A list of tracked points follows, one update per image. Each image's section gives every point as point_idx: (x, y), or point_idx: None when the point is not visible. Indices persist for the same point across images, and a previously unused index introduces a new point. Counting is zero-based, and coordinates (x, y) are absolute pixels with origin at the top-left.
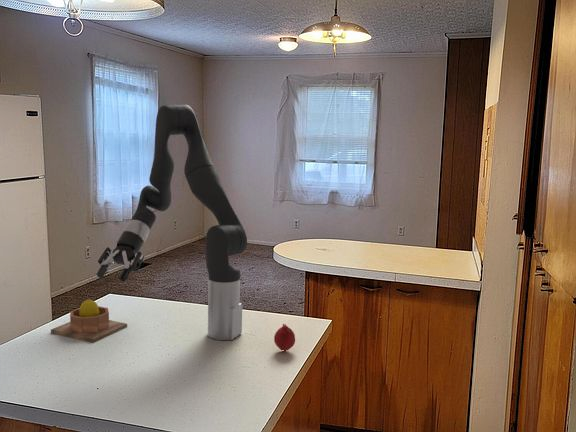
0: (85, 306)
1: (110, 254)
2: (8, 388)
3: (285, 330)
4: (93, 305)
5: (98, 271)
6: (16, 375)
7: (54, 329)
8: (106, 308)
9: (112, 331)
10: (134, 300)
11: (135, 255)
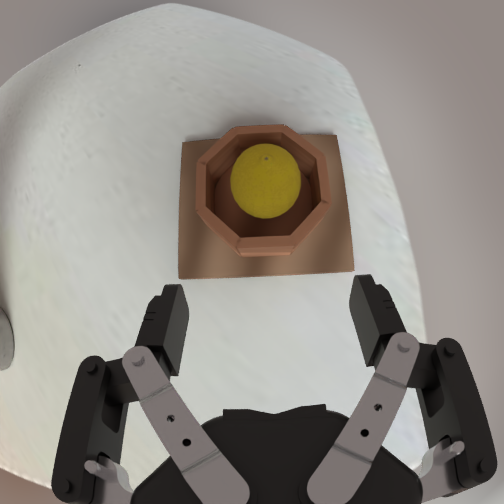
0: (256, 145)
1: (427, 456)
2: (187, 8)
3: None
4: (236, 165)
5: (388, 300)
6: (208, 20)
7: (328, 137)
8: (237, 241)
9: (180, 211)
10: None
11: (91, 467)
